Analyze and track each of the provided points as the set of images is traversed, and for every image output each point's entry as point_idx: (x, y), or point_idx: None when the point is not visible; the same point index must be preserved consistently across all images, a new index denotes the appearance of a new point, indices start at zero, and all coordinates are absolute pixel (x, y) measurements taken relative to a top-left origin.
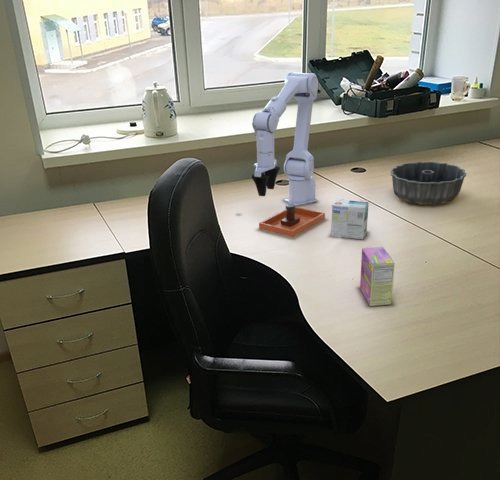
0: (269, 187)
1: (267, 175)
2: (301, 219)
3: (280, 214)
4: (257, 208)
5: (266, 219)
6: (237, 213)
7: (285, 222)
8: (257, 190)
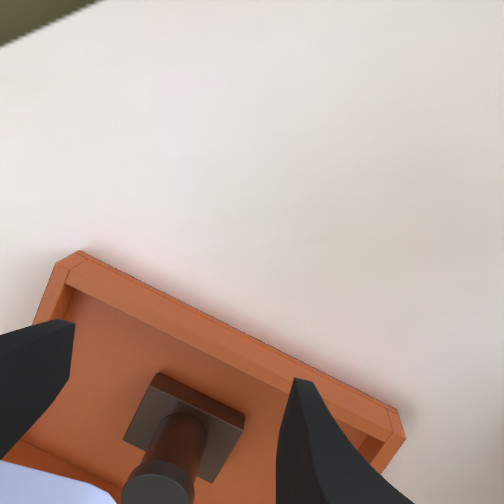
0: (288, 406)
1: (300, 489)
2: (258, 470)
3: (254, 373)
4: (486, 171)
5: (126, 302)
6: (369, 31)
7: (139, 407)
8: (15, 331)
